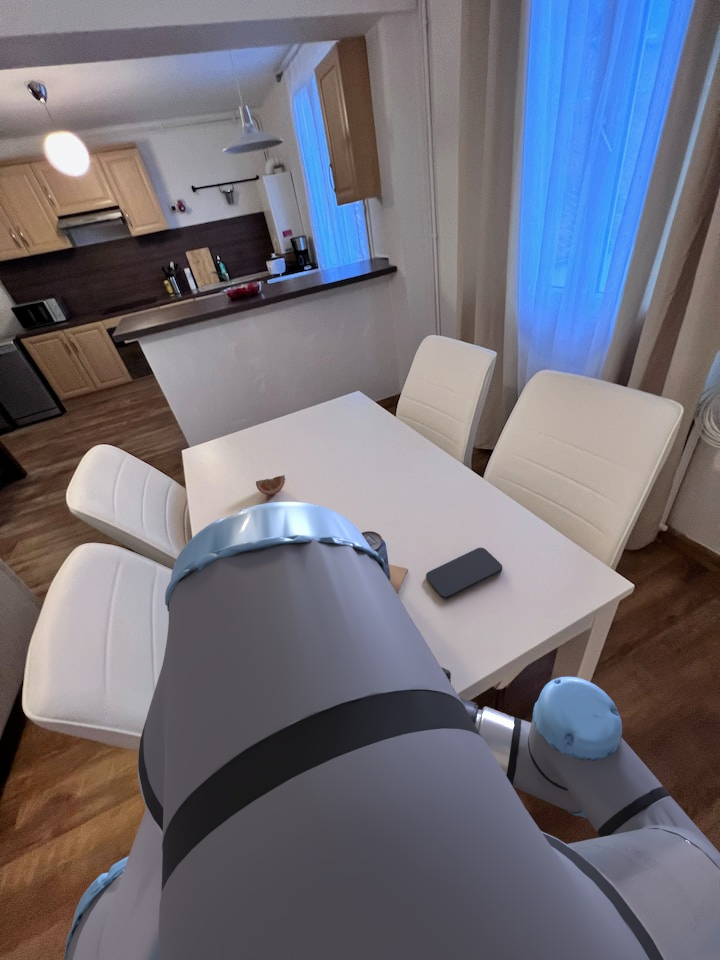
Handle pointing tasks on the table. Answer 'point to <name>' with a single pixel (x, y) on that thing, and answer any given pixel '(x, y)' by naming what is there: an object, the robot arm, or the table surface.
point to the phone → (463, 572)
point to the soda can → (377, 546)
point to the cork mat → (397, 576)
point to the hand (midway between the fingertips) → (333, 680)
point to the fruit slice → (271, 485)
